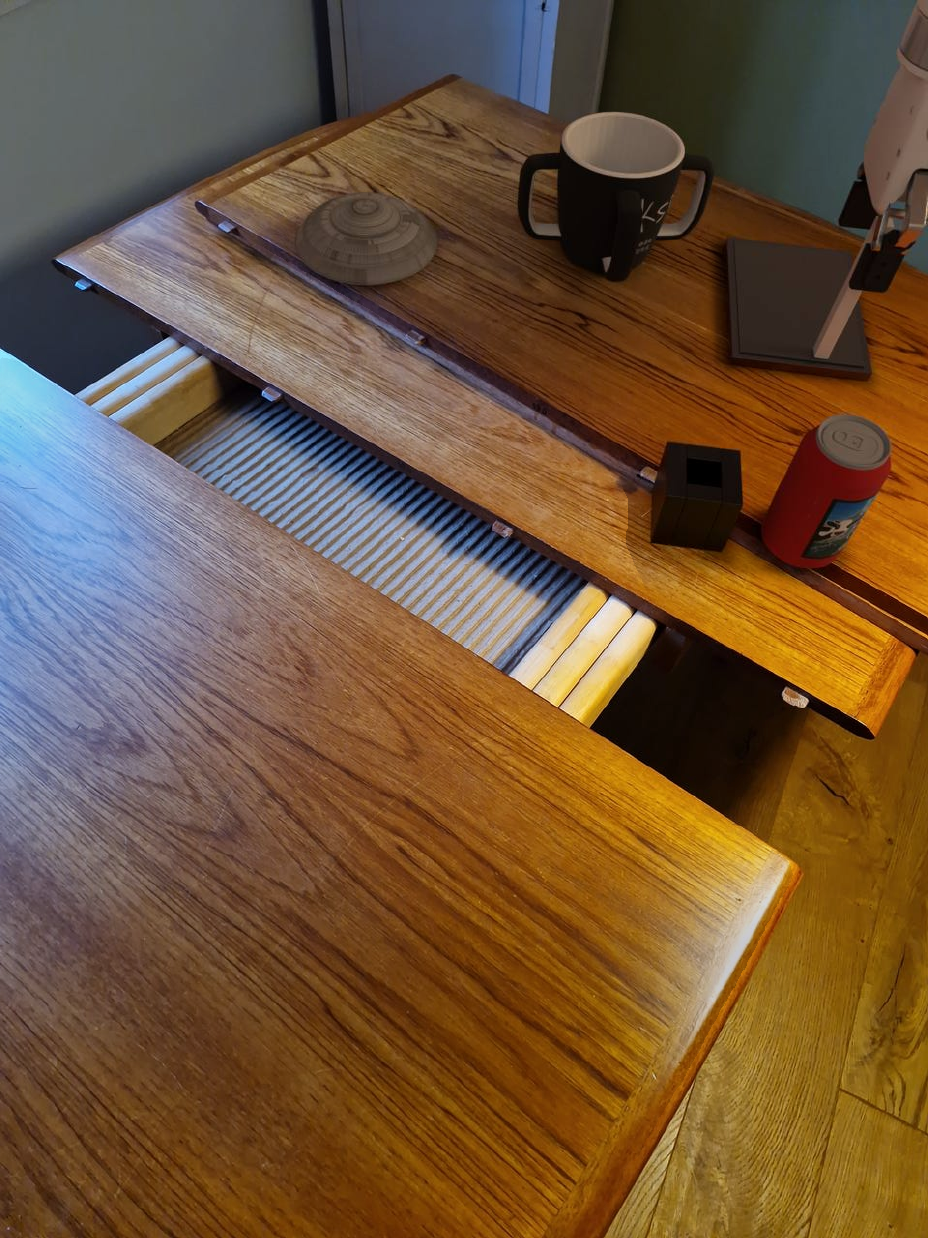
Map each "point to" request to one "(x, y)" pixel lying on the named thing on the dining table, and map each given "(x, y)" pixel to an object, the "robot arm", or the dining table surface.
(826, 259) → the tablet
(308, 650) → the dining table surface
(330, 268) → the flying saucer
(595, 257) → the mug
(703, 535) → the pen holder
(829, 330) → the stylus
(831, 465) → the beverage can
